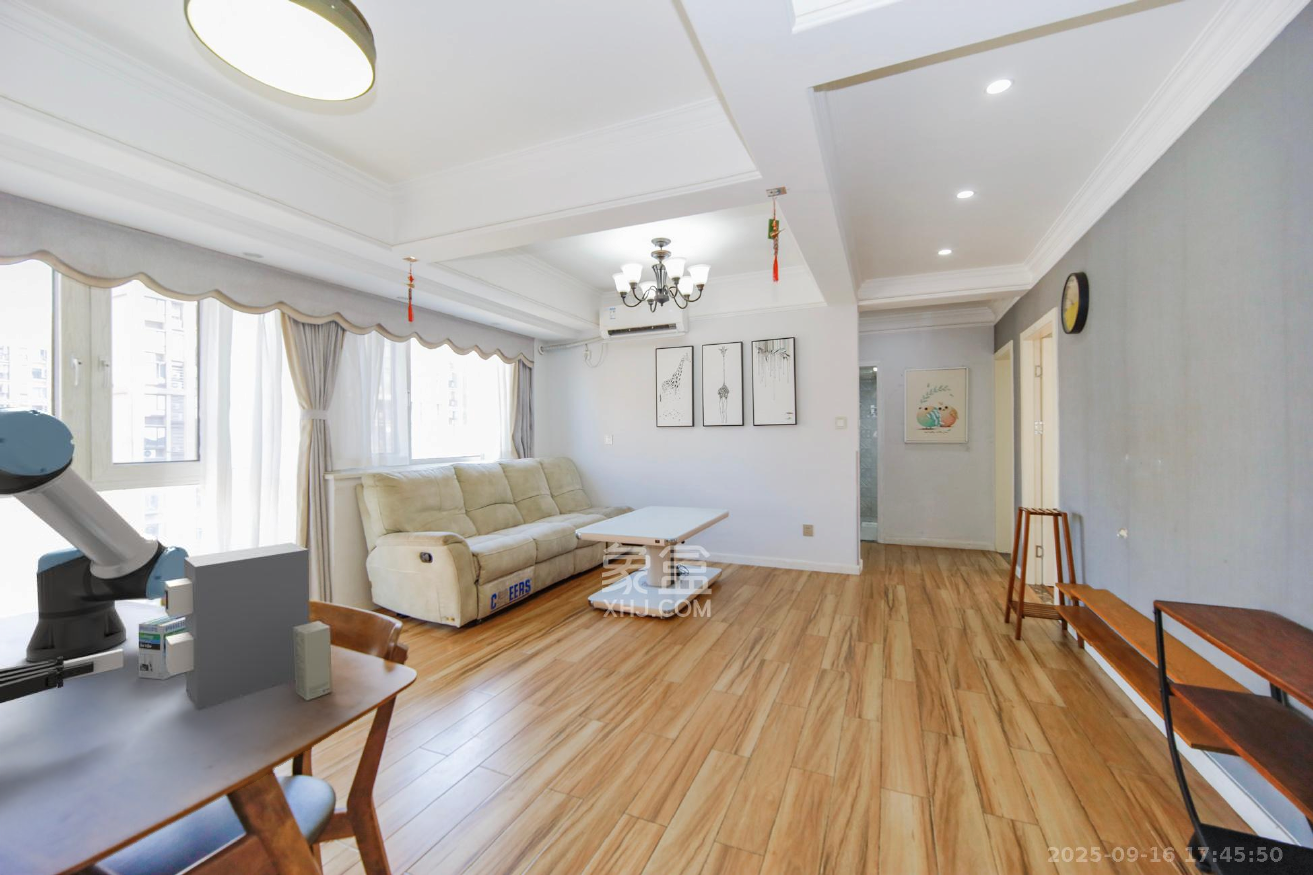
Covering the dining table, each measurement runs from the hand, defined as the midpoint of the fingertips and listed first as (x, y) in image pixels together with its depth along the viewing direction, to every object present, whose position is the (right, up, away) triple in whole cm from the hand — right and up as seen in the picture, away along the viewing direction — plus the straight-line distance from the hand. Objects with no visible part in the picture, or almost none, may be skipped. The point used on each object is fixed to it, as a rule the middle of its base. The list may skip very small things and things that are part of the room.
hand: (122, 657), depth 87 cm
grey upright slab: (+12, -10, +14) cm, 21 cm away
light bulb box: (-9, -11, +20) cm, 25 cm away
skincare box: (+26, -10, +9) cm, 29 cm away
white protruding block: (+5, +6, +6) cm, 10 cm away
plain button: (+6, -4, +7) cm, 10 cm away
